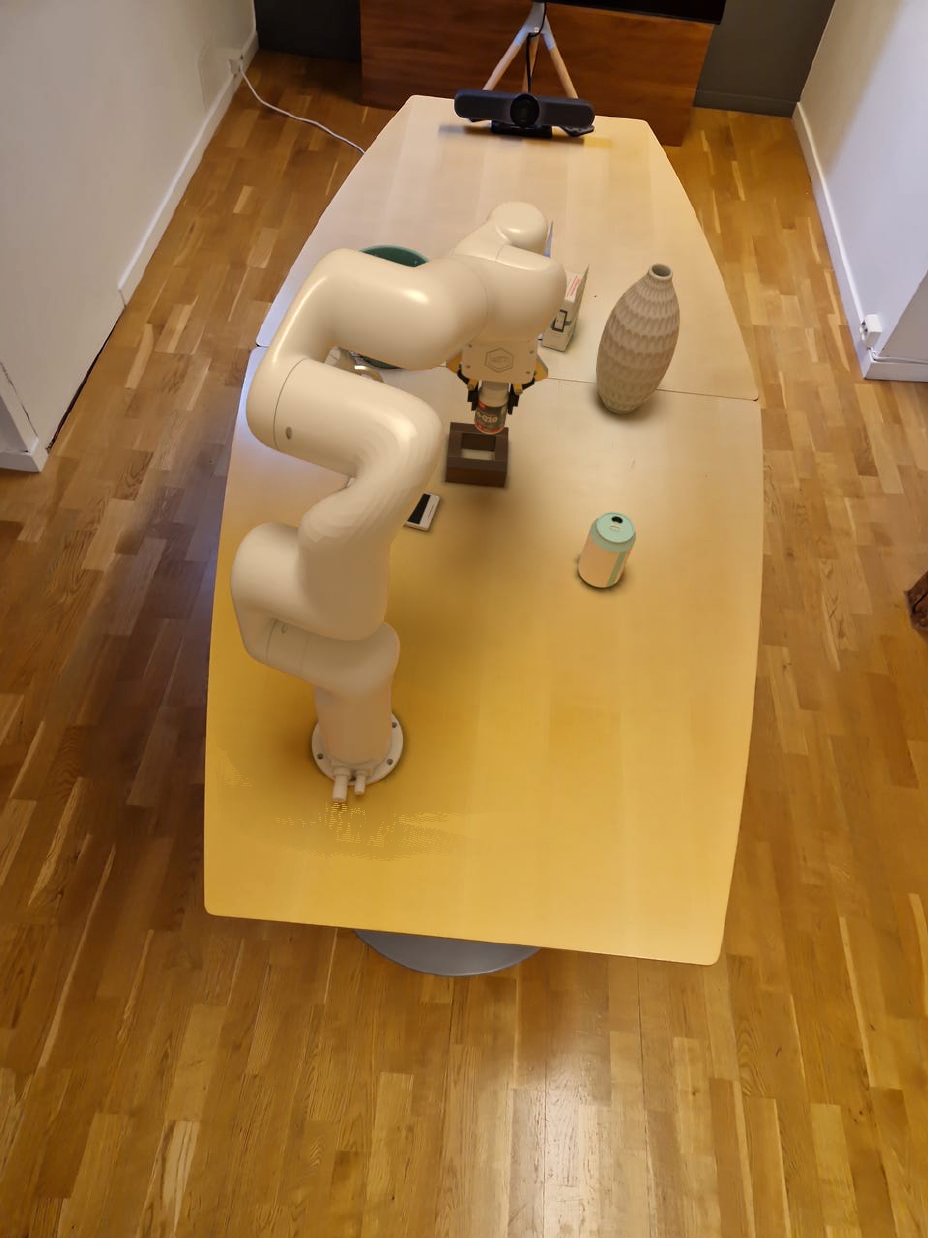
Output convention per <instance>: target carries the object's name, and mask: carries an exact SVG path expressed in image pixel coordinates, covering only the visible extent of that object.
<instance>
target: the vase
mask: <svg viewBox="0 0 928 1238" xmlns="http://www.w3.org/2000/svg"><path fill="white" fill-rule="evenodd" d="M673 276H674V272H673V269H672V268H671V267H670V266H669V265H667V264H664V263H660V262H659V263H654V264H652V265H650V266H649V268H648V270H647V272H646V273H645V274H644V275H643V276H642V277H640V278H639V279H638V280H636V281H635V282H634V283H633V284H632V285H631V286H629V287H628V288H627V290H626V291H625V292H623V294H622V295H621V296H620V297H619V298H618V300H617V302H616V303H615V305H614V306H613V308H612V310H611V311H610V313H609V315H608V318H607V319H606V322H605V325H604V328H603V330H602V334H601V338H600V341H599V345H598V349H597V355H596V365H595V374H596V377H595V378H596V385H597V389H598V393H599V396H600V399H601V400H602V403H603V405H604V406H605V408H606V409H608V410H609V411H610V412H612V413H615V414H619V415H624V414H625V415H626V414H629V413H631V412H633V411H634V410H636V409H637V408H639V407H641V406H642V405H644V403H645V402H646V401H648V400H649V398H651V396H652V395H653V394H654V393H655V391H656V390H657V389H658V388H659V386H660V384H661V382H662V381H663V380H664V378H665V376H666V374H667V371H668V369H669V367H670V364H671V361H672V359H673V357H674V353H675V350H676V347H677V343H678V340H679V334H680V325H681V310H680V305H679V299H678V295H677V293H676V289H675V287H674V283H673Z"/></svg>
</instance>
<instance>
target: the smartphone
mask: <svg viewBox="0 0 928 1238" xmlns="http://www.w3.org/2000/svg"><path fill="white" fill-rule="evenodd" d="M354 480H355V479H354V478H352V477H350V479H349V481H348V483H347V485H346V487H347V486H349V485H352V484H353V482H354ZM440 500H441V499H440V496H439V495H437V494H433V493H430V492H426V491H425V492H424V493H423V495H422V497H421V499H420V501H419V502H418V504H417V506H416V507H415V509H414V511H413V512H412V514H411V515H410V517H409V518H408V520H407V521H406V523H405V524H404V526H406V527H410V528H413V529H418V530H422V531H425V532H426V531H429V529H430V528H431V527H430V526H431V524H432V522H433V519H434V516H435V514H436V512H437V508H438V505H439V503H440Z"/></svg>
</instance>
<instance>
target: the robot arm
mask: <svg viewBox="0 0 928 1238" xmlns="http://www.w3.org/2000/svg"><path fill="white" fill-rule="evenodd" d="M548 233H549V224H548V219H547V217H546V215H545V214H544V212H543V211H542V210H541V209H540V208H539V207H538V206H535V205H534V204H532V203H530V202H526V201H523V200H507V201H503V202H501V203H498V204H497V205H495V206H494V207H493V208H492V209H490V211H489V213H488V215H487V217H486V220H485V222H483V223H482V224H481V225H480V226H478V227H477V228H475V229H473V230H472V231H470V233H468V234H467V235H465V236H464V237H463V238H461V239H460V240H458V242H457V243H456V244H455V245H454V246H453V247H452V248H451V249H450V250H449V251H448V253H447V254H444V255H440V256H438V257H436V258H433V259H431V260H429V262H427V263H425V264H422V265H419V266H417V267H408V266H405V265H401V264H398V263H394V262H391V261H388V260H385V259H382V258H378V257H375V256H372V255H369V254H366V253H362V252H359V250H356V249H353V248H348V247H340V248H336V249H333V250H332V251H331V250H330V251H329V252H328V253H326V254H325V255H324V256H323V257H322V258H320V260H319V261H318V262H317V263H316V264H315V266H314V267H313V268H312V269H311V271H310V272H309V273H308V275H307V276H306V278H304V281H302V284H301V285H300V286H299V288H298V290H297V292H296V293H295V295H294V296H293V298H292V300H291V302H290V304H289V306H288V308H287V310H286V312H285V313H284V316H283V317H282V320H281V322H280V323H279V325H278V327H277V329H276V331H275V333H274V335H273V337H272V339H271V341H270V343H269V344H268V347H267V349H266V350H265V352H264V354H263V356H262V358H261V360H260V362H259V364H258V366H257V368H256V371H255V372H254V374H253V376H252V379H251V382H250V384H249V388H248V392H247V397H246V401H245V419H246V423H247V426H248V428H249V431H250V432H251V434H252V435H253V436H254V438H256V440H257V441H258V442H260V443H261V444H262V445H264V446H266V447H267V448H269V449H272V450H274V451H276V452H279V453H281V454H284V455H287V456H290V457H293V458H295V459H298V460H301V461H304V462H307V463H310V464H313V465H314V466H315V465H316V466H318V467H321V468H324V469H326V470H328V471H332V472H335V473H338V474H341V475H344V476H347V477H350V478H351V477H352V478H354V479H355V480H354V482H353V484H352V485H349V486H347V485H346V486H345V487H342V488H340V489H337V490H335V491H333V492H332V493H329V494H328V495H326V496H324V497H323V498H322V499H320V500H319V501H317V502H316V503H315V504H313V506H311V507H310V508H309V509H308V510H307V511H306V512H305V513H304V514H303V515H302V516H301V519H300V521H299V524H298V526H295V525H292V524H288V523H285V522H280V521H268V522H264V523H261V524H259V525H257V526H255V527H253V528H252V529H251V530H250V531H249V532H248V533H247V534H246V535H245V536H244V537H243V538H242V540H241V542H240V543H239V545H238V547H237V550H236V552H235V555H234V557H233V561H232V564H231V571H230V579H229V583H230V584H229V586H230V587H229V588H230V595H231V602H232V606H233V609H234V614H235V618H236V621H237V626H238V630H239V634H240V637H241V641H242V645H243V647H244V649H245V651H246V653H247V655H248V656H250V658H252V659H253V660H254V661H256V662H258V664H262V665H264V666H266V667H269V668H271V669H273V670H276V671H278V672H281V673H283V674H286V675H288V676H292V677H294V678H296V679H298V680H301V681H303V682H305V683H307V684H310V685H313V687H312V688H313V690H312V697H313V702H314V707H315V711H316V717H317V723H316V725H315V727H314V729H313V732H312V736H311V750H312V755H313V758H314V761H315V763H316V765H317V766H318V767H317V768H319V770H320V771H321V772H322V773H323V774H324V775H325V776H326V777H327V778H329V779H330V780H332V781H333V782H334V784H333V787H332V794H331V801H333V802H335V803H346V802H347V797H348V790H349V788H348V786H349V787H354V788H353V794H355V795H357V796H358V795H359V796H360V795H364V794H365V791H366V786H369V785H373V784H375V783H377V782H379V781H380V780H383V779H384V778H386V776H388V775H389V774H390V773H391V772H392V771H393V770H394V769H395V767H396V766H397V765H398V763H399V760H400V759H401V756H402V753H403V747H404V735H403V730H402V727H401V724H400V723H399V720H398V719H397V717H396V716H395V715H394V713H393V712H392V711H393V709H392V705H393V704H392V695H393V694H392V693H393V692H392V686H393V679H394V676H395V673H396V669H397V667H398V665H399V664H398V663H399V660H400V655H401V641H400V637H399V635H398V632H397V631H396V629H395V628H394V627H392V626H391V625H390V624H389V623H388V622H386V621H385V620H384V619H385V616H386V613H387V609H388V601H389V599H388V598H389V588H390V587H389V586H390V559H391V558H390V557H391V555H390V554H391V545H392V544H393V542H394V540H395V538H396V536H397V535H398V534H399V533H400V531H401V529H402V528H403V527H404V526H405V525H404V524H405V523H406V521H407V520H408V518H409V517H410V515H411V514H412V512H413V511H414V509H415V507H416V506H417V504H418V502H419V501H420V499H421V497H422V495H423V493H424V492H426V489H427V488H428V485H429V484H430V481H431V479H432V477H433V475H434V473H435V471H436V468H437V466H438V463H439V460H440V457H441V454H442V450H443V446H444V445H443V444H444V441H445V439H444V437H445V435H444V434H445V431H444V425H443V421H442V419H441V417H440V416H439V414H438V412H436V410H435V409H434V408H433V407H432V406H431V405H430V404H428V403H426V402H425V400H422V399H421V398H420V397H417V396H416V395H413V394H411V393H409V392H407V391H406V390H402V389H400V388H398V387H395V386H392V385H390V384H387V383H381V382H378V381H375V380H374V379H373V378H371V377H366V376H364V375H361V376H360V375H357V374H354V373H351V372H348V371H345V370H342V369H339V368H336V367H333V366H330V365H327V364H324V363H325V361H326V358H327V356H328V354H329V352H330V350H331V349H332V348H333V347H340V348H343V349H346V350H348V351H349V352H353V353H355V354H357V355H360V354H361V355H364V356H367V357H370V358H373V359H376V360H379V361H382V362H385V363H388V364H391V365H394V366H397V367H396V368H401V369H405V370H409V371H427V370H433V369H435V368H437V367H439V366H441V365H443V364H444V363H445V367H446V369H448V370H449V371H450V372H452V373H453V374H456V376H457V378H458V379H459V380H461V381H462V382H463V383H464V384H465V385H466V389H467V398H466V399H467V400H466V402H467V403H471V406H470V411H471V412H475V410H476V405H477V397H478V390H479V387H480V386H479V384H480V381H481V382H482V381H491V382H501V383H509V394H510V396H509V403H508V409H507V415H509V416H512V415H513V412H514V407H515V408H517V407H519V403H520V397H521V396H520V395H522V394H523V392H524V391H525V390H527V389H528V388H530V387H532V386H534V385H535V383H538V382H540V381H543V380H546V379H547V378H548V377H549V367H548V366H547V365H546V364H545V362H544V360H543V359H542V358H541V356H540V355H539V353H538V348H539V342H540V341H539V338H540V336H541V335H542V334H544V331H545V330H546V329H547V328H548V327H549V326H550V325H551V324H552V322H553V321H554V320H555V318H556V316H557V315H558V313H559V311H560V309H561V307H562V305H563V302H564V299H565V295H566V290H567V276H566V272H565V270H566V269H565V267H564V266H563V264H562V263H560V262H559V261H558V260H557V259H554V258H551V257H549V256H545V252H546V246H547V240H548ZM361 355H360V356H361ZM320 758H321V759H320Z"/></svg>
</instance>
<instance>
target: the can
mask: <svg viewBox="0 0 928 1238" xmlns="http://www.w3.org/2000/svg"><path fill="white" fill-rule="evenodd" d="M636 540H637V533H636V528H635V524H634V523H633V521H632V519H631V518H630V517H628V515H625V514H624V513H622V512H618V511H608V512H604V513H603V514H601V515H600V516H598V517H597V518H596V519H595V520H593V522H592V523H591V525H590V528H589V530H588V534H587V537H586V539H585V543H584V546H583V547H582V551H581V554H580V558H579V561H578V563H577V571H578V574H579V576H580V577H581V578H582V580H583V581H585V582H586V583H587V584H589V585H591V586H593V587H597V588H608V587H612V586H613V585H615V584H617V583H618V582H619V580H620V579H621V576H622V574H623V571H624V569H625V566H626V564H627V563H628V559H629V557H630V555H631V553H632V550H633V548H634V545H635V543H636Z"/></svg>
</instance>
